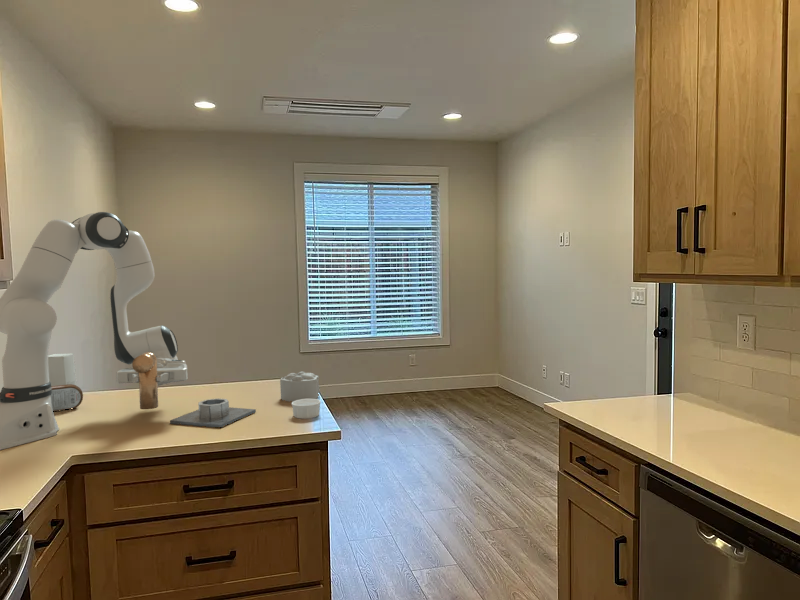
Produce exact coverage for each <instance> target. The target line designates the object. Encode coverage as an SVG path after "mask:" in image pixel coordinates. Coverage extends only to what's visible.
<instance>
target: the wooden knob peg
mask: <svg viewBox="0 0 800 600" xmlns="http://www.w3.org/2000/svg"><path fill="white" fill-rule="evenodd" d="M131 365H132V368H133V369H134V370H135V371H136V372H138V373H139V383H138V387H139V388H138V389H139V390H138V391H139V393H138V395H139V409H140V410H153V409H157V408H159V393H158V385H157V381H156V380H157V379H156V376H157V359H156V356H155V355H154V354H153V353H150V352H145V353H143V354H141V355H140V356H138V357H136V358H135V359H134V360H133V363H132V364H131Z"/></svg>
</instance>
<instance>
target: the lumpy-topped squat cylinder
mask: <svg viewBox="0 0 800 600" xmlns="http://www.w3.org/2000/svg"><path fill="white" fill-rule="evenodd" d="M319 378H320V377H319V375H316V374H315V373H313V372H306V371H299V372H297V373H295V372H291V373H287V375H286V376H285V375H284V376H282V377H281V378H280V379H279V380H280V381H279V383H280V387H279V388H280V400H281V399H282V400H281V401H284V400H285V401H284V402H290V401H292V402H293V401H296V400H300V399H319V397H320V383H319V382H320V379H319ZM318 393H319V394H318ZM318 396H319V397H318ZM292 402H291V403H292Z"/></svg>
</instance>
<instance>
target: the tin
mask: <svg viewBox="0 0 800 600" xmlns="http://www.w3.org/2000/svg"><path fill="white" fill-rule="evenodd" d="M51 387H52V394H51V402H52V408H53V411H57V412H60V411H59V410H65V409H71V408H75V409H77V408H78V407H79V406H80V405H81V404H82V402H83V399H84V394H83V393H84V392H83V390H82V389H81V388H80V387H79V386H78V385H77V386H76V385H73V384H67V385H58V386H51ZM65 411H66V410H65Z"/></svg>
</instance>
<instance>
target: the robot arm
mask: <svg viewBox="0 0 800 600" xmlns="http://www.w3.org/2000/svg"><path fill="white" fill-rule="evenodd" d="M79 250H84V251H94V250H97V251H98V250H105V251H107V253H109V255H110V256H111V258H112V261H113V264H114V269H115V272H116V280H115V284H114V285H113V286H111V288H110V293H109V295H110V297H109V298H110V310H111V319H112V321H111V322H112V331H113V350H114V354H115V357H116V359H117V360H118V361H120V362H121V363H123V364H126V365H132V363H133V360H134V359H135V358H136V357H138V356H140V355H141V354H143V353H145V352H150V353H153V354H154V355H155V356H156V359H157V376H156V379H157V380H156V381H157V385H158V386H163V385H167V384H169V383H170V384H171V383H175V382H176V383H179V382H184V381H185V382H186V381H187V380H188V364H187V362H186V360H182V359H178V356H177V354H178V351H179V347H178V346H179V345H178V340H177V338H176V336H175V334H174V332H173V330H171V329H170V328H169V327H167V326H165V325H162V324H161V325H157V326H152V327H148V328H145V329H142V330H137V331H130V330H129V322H128V311H127V307H128V305H129V302H130V301H131V300H133V298H135V297H136V296H139V295H140V294H142V293H143V292H145V291H146V290H147V289H149V287H150V286H152V284H153V282H154V280H155V277H156V275H155V274H156V273H155V267H154V264H153V261H152V257H151V253H150V251H149V249H148V247H147V244H146V241H145V240H144V237H142V234H141V233H139V232H138V231H136V230H131V229H130V230H129V229H128V228H127V227H126V226H125V225H124V222H122V220H121V219H120V218H119V217H118V216H117V215H115V214H113V213H111V212H107V211H98V212H93V213H89V214H86V215H84V216H81V217H79V218H77V219H75V220H73V221H72V222H70V221H68V220H64V219H52V220H50V221H48V222H47V223H46V224H45V226H44V227H43V228H42V229H41V231H39V233H38V235H37V237H36V239H35V240H34V242H33V244H32V245H31V248H30V250H29V251H28V253H27V255H26V258H25V260H24V262H23V264H22V265H21V267H20V269H19V271H18V273H17V274H16V276H15V277H14V279H13V280H12V281H11V283H10V284H9V286H8V287H7V288H6V289H5V291H4V293H3V294H2V296H1V297H0V332H1V333H2V334H3V335H4V334H5V335H6V336H7V337H6V345H5V351H4V355H3V356H2V359H1V366H2V367H1V368H2V381H3V383H2V384H3V386H2V388H1V390H0V451H1V450H5V449H9V448H13V447H16V446H20V445H23V444H28V443H33V442H35V441H39V440H42V439H46V438H50V437H54V436H56V435H58V433H57V432H58V431H59V429H60V427H59V425H58V423H57V421H56V418H55V412H53V408H52V402H51V394H52V387H51V382H50V381H49V368H48V356H49V349H50V343H51V339H52V333H53V329H54V328H55V326H56V324H57V320H58V319H57V317H58V316H57V313H56V311H55V309H54V308H53V307H52V305H50V304H48V302H49V301H50V299H51V298H52V297H53V295H55V293H56V292H57V291H58V290H59V289H60V288H61V287H62V285H63V283H64V281H65V278H66V277H67V275H68V272H69V270H70V269H71V265H72V263H73V261H74V259H75V256H76V255H77V253H78V251H79ZM115 377H116V378H115V379H116V383H118V384H132V383H133V384H135V383H137V384H139V373H138V372H136V371H135V370H134V369H133V367H129V368H128V367H127V368H122V369H120V370H117V372H116V376H115Z"/></svg>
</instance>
